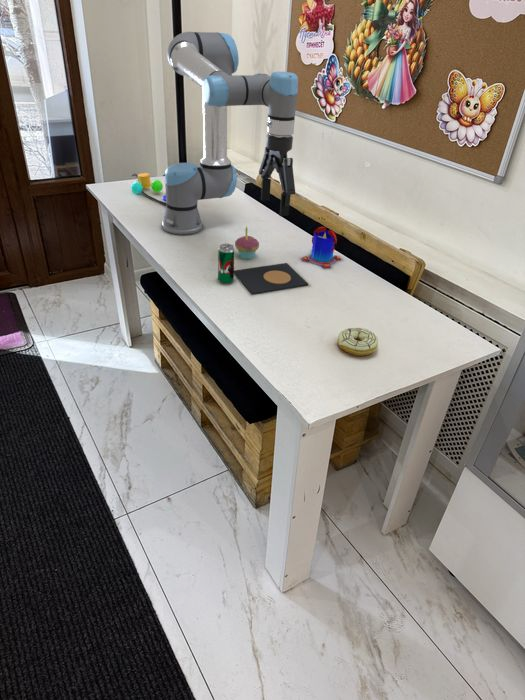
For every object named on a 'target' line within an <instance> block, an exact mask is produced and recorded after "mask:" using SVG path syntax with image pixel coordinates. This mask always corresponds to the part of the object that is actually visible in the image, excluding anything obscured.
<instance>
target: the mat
mask: <svg viewBox="0 0 525 700" xmlns="http://www.w3.org/2000/svg"><path fill="white" fill-rule="evenodd" d="M234 276H235V277H236V278H237V279H238V280H239V281H240V282H241V284H242V285H243V286H244V287H245V289H246V290H247V291H248V292H249V293H250V294H251V295H253V296H254V295H258V294H260V295H261V294H265V293H271V292H277V291H283V290H290V289H295V288H302V287H309V283H308V282H307V281H306V280H305V279H304V278H303V277H302V276H301V275H300V274H299V273H298V272H297V271H296V270H295V269H294V268H292V266H290V265H289V264H288V263H287V262H285V263H277V264H270V265H263V266H256V267H250V268H242V269H234Z"/></svg>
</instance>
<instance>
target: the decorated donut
mask: <svg viewBox="0 0 525 700" xmlns="http://www.w3.org/2000/svg"><path fill="white" fill-rule="evenodd" d="M337 345H338V348H340V349H341V350H342V351H344V352H345V353H348V354H350V355H353V356H359V357H363V356H368V355H371V354H373V353H374V352H375V351H376V350H377V349H378V345H379V337H378V335H376V334H375V333H374V332H372V331H371V330H369V329H367V328H362V327H350V328H346V329H342V330H341V331H340V332H339V333H338V335H337Z"/></svg>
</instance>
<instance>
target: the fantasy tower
mask: <svg viewBox="0 0 525 700" xmlns="http://www.w3.org/2000/svg"><path fill="white" fill-rule="evenodd" d="M337 241H338V238H337V235H336V233H335V232H334V231H333V230H332V229H327V227H325V226H320V227H317V228H316V229H315V230H314V231H313V236H311V243H312V246H311V254H310V255H309V256H307V255H306V256H303V257H301V261H302V262H306V263H311V264H315V265H318V266H320V267H321V268H323V269H331V268H332V266H331V265H333V264H334V263H336V262H339V261H342V259H341V257H340V256H339V255H334V253H335V249H336V247H335V245H337Z"/></svg>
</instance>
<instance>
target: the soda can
mask: <svg viewBox="0 0 525 700" xmlns="http://www.w3.org/2000/svg"><path fill="white" fill-rule="evenodd" d="M235 251H236V250H235V247H234V245H233V244H231V243H221V244H220V245H219V247H218V250H217V252H218V253H217V254H218V255H217V263H218V264H217V280H218V282H219V283H221V284H223V285H228V284H229V285H230V284H232V282H234V280H235V274H234V270H235V254H236V253H235Z"/></svg>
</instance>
